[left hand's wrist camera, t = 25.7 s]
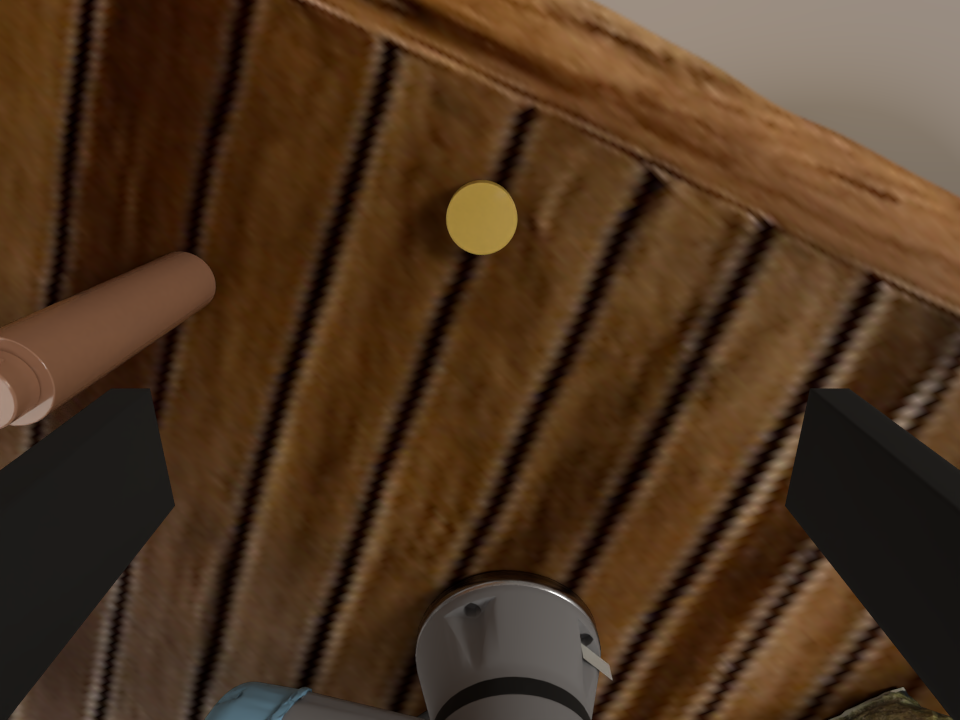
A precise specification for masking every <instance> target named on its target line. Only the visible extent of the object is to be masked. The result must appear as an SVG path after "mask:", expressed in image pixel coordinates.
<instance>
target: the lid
mask: <svg viewBox="0 0 960 720" xmlns="http://www.w3.org/2000/svg"><path fill="white" fill-rule="evenodd" d="M446 224H447V229H448V232H449V234H450V236H451V238H452V239H453V241H454V242H455V243H456V244H457V245H458V246H459V247H460V248H462V249H463V250H465V251H467V252H469V253H472V254H477V255H486V254H491V253H494V252H496V251H498V250H500V249H502V248H503V247H504V246H505V245H507V244H508V242H509V241H510V240H511V238H512V237H513V235H514V233H515V230H516V226H517V211H516V207H515V204H514V202H513V200H512V198H511V196H510V195H509V193H508V192H507V191H506V190H505V189H504V188H503V187H502V186H500V185H499V184H497V183H495V182H492V181H487V180H476V181H472V182H469V183H467V184H465V185H463V186H462V187H460V188H459V189H458V190H457V191H456V192H455V194H454V195H453V197H452V198H451V200H450V203H449V206H448V209H447V214H446Z"/></svg>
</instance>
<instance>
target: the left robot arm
mask: <svg viewBox="0 0 960 720" xmlns="http://www.w3.org/2000/svg"><path fill="white" fill-rule="evenodd" d="M174 506H175V504H174V499H173V495H172V490H171V485H170V481H169V476H168V471H167V467H166V462H165V457H164V453H163V448H162V443H161V439H160V434H159V429H158V425H157V420H156V415H155V411H154V406H153V401H152V397H151V392H150V389H110V390H109V391H107V392H106V393H105V394H103V395H102V396H101V397H99V398H98V399H97V400H95V401H94V402H92V403H91V404H90V405H88V406H87V407H86V408H84V409H83V410H82V411H80V412H79V413H77V414H76V415H75V416H73V417H72V418H71V419H69V420H68V421H67V422H65V423H64V424H63V425H61V426H60V427H58V428H57V429H56V430H54V431H53V432H52V433H50V434H49V435H48V436H46V437H45V438H44V439H42V440H41V441H39V442H38V443H37V444H35V445H34V446H33V447H31V448H30V449H29V450H27V451H26V452H25V453H23V454H22V455H20V456H19V457H18V458H16V459H15V460H14V461H12V462H11V463H10V464H8V465H7V466H6V467H4V468H3V469H1V470H0V720H7V719H8V718H9V716H10V715H11V714H12V713H13V711H14V710H15V709H16V708H17V706H18V705H19V704H20V702H21V701H22V700H23V699H24V697H25V696H26V695H27V694H28V692H29V691H30V690H31V688H32V687H33V686H34V685H35V683H36V682H37V681H38V680H39V678H40V677H41V676H42V674H43V673H44V672H45V671H46V669H47V668H48V667H49V665H50V664H51V663H52V662H53V660H54V659H55V658H56V657H57V655H58V654H59V653H60V651H61V650H62V649H63V648H64V646H65V645H66V644H67V643H68V641H69V640H70V639H71V637H72V636H73V635H74V634H75V632H76V631H77V630H78V629H79V627H80V626H81V625H82V623H83V622H84V621H85V620H86V618H87V617H88V616H89V615H90V613H91V612H92V611H93V609H94V608H95V607H96V606H97V604H98V603H99V602H100V601H101V599H102V598H103V597H104V595H105V594H106V593H107V592H108V590H109V589H110V588H111V586H112V585H113V584H114V583H115V581H116V580H117V579H118V578H119V576H120V575H121V574H122V572H123V571H124V570H125V569H126V567H127V566H128V565H129V564H130V562H131V561H132V560H133V558H134V557H135V556H136V555H137V553H138V552H139V551H140V550H141V548H142V547H143V546H144V544H145V543H146V542H147V541H148V539H149V538H150V537H151V536H152V534H153V533H154V532H155V530H156V529H157V528H158V527H159V525H160V524H161V523H162V522H163V520H164V519H165V518H166V516H167V515H168V514H169V513H170V511H171V510H172V509H173V507H174ZM785 506H786V507H787V509H788V510H789V511H790V513H791V514H792V515H793V516H794V518H795V519H796V520H797V522H798V523H799V524H800V525H801V527H802V528H803V529H804V530H805V532H806V533H807V534H808V536H809V537H810V538H811V539H812V541H813V542H814V543H815V544H816V546H817V547H818V548H819V550H820V551H821V552H822V553H823V555H824V556H825V557H826V558H827V560H828V561H829V562H830V564H831V565H832V566H833V567H834V569H835V570H836V571H837V572H838V574H839V575H840V576H841V578H842V579H843V580H844V581H845V583H846V584H847V585H848V586H849V588H850V589H851V590H852V592H853V593H854V594H855V595H856V597H857V598H858V599H859V601H860V602H861V603H862V604H863V606H864V607H865V608H866V609H867V611H868V612H869V613H870V615H871V616H872V617H873V618H874V620H875V621H876V622H877V623H878V625H879V626H880V627H881V629H882V630H883V631H884V632H885V634H886V635H887V636H888V637H889V639H890V640H891V641H892V643H893V644H894V645H895V646H896V648H897V649H898V650H899V651H900V653H901V654H902V655H903V657H904V658H905V659H906V660H907V662H908V663H909V664H910V665H911V667H912V668H913V669H914V671H915V672H916V673H917V674H918V676H919V677H920V678H921V680H922V681H923V682H924V683H925V685H926V686H927V687H928V688H929V690H930V691H931V692H932V694H933V695H934V696H935V697H936V699H937V700H938V701H939V702H940V704H941V705H942V706H943V708H944V709H945V710H946V711H947V713H948V714H949V715H950V716H951V718H952V719H953V720H960V470H959V469H957V468H956V467H954V466H953V465H952V464H950V463H949V462H948V461H946V460H945V459H944V458H942V457H941V456H940V455H938V454H937V453H935V452H934V451H933V450H931V449H930V448H929V447H927V446H926V445H925V444H923V443H922V442H921V441H919V440H918V439H916V438H915V437H914V436H912V435H911V434H910V433H908V432H907V431H906V430H904V429H903V428H902V427H900V426H899V425H897V424H896V423H895V422H893V421H892V420H891V419H889V418H888V417H887V416H885V415H884V414H883V413H881V412H880V411H878V410H877V409H876V408H874V407H873V406H872V405H870V404H869V403H868V402H866V401H865V400H863V399H862V398H861V397H859V396H858V395H857V394H855V393H854V392H853V391H851V390H850V389H810V392H809V397H808V401H807V406H806V411H805V415H804V420H803V425H802V429H801V434H800V439H799V443H798V448H797V453H796V457H795V462H794V467H793V471H792V476H791V481H790V485H789V490H788V495H787V499H786V504H785ZM416 665H417V672H418V676H419V680H420V684H421V687H422V691H423V695H424V698H425V702H426V706H427V709H428V710H427V711H425V712H424V713H422V714H421V715H419V716H418V717H414V716H410V715H405V714H401V713H397V712H393V711H389V710H384V709H380V708H376V707H372V706H368V705H363V704H359V703H355V702H351V701H347V700H342V699H338V698H334V697H330V696H326V695H321V694H317V693H313V692H312V689H310V688H308V687H302V688H300V689H295V688H290V687H284V686H278V685H272V684H267V683H261V682H247V683H244V684H241V685H239V686H237V687H235V688H233V689H231V690H230V691H229V692H227V693H226V694H225V695H224V696H223V697H222V698H221V699H220V700H219V701H218V703H217V704H216V705H215V706H214V707H213V709H212V710H211V711H210V713H209V714H208V715H207V717H206V718H205V720H429V719H430V720H591V719H592V713H593V707H594V701H595V694H596V688H597V682H598V676H599V670H600V671H601V672H602V673H604V674H605V675H606V676H607V677H609V678H610V679H611V680H612V676H611V672H610V667H609V664H608V663H606V662H605V661H604V660H602V659H601V647H600V641H599V637H598V632H597V628H596V624H595V621H594V618H593V616H592V614H591V612H590V610H589V609H588V607H587V606H586V605H585V603H584V602H583V601H582V600H581V599H580V598H579V597H578V596H577V595H576V594H575V593H574V592H573V591H571V590H570V589H569V588H567V587H565V586H564V585H562V584H560V583H558V582H557V581H554V580H552V579H550V578H547V577H544V576H541V575H537V574H533V573H527V572H520V571H498V572H490V573H485V574H481V575H477V576H474V577H471V578H468V579H465V580H463V581H461V582H459V583H457V584H455V585H453V586H452V587H450V588H449V589H447V590H446V591H444V592H443V593H442V594H441V595H439V596H438V597H437V598H436V599H435V600H434V601H433V602H432V604H431V605H430V606H429V608H428V609H427V611H426V612H425V614H424V616H423V618H422V620H421V623H420V626H419V630H418V636H417V644H416Z"/></svg>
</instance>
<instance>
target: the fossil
mask: <svg viewBox="0 0 960 720" xmlns="http://www.w3.org/2000/svg"><path fill="white" fill-rule="evenodd" d="M830 720H953V719H952V718H951V717H950V716H947V715H943V714H940V713H937V712H935V711H932V710H929V709H926V708H923V707H921V706H920V705H919V704H918V703H917V701H915V700H914V699H913V698H912V697H910V696H909V695H908V694H907V692H906V691H905V689H904V688H903V687H902V688H899V689H895V690H891V691H888V692H885V693H883V694H881V695H879V696H878V697H875V698H872V699H870V700H868V701H866V702H864V703H862V704H860V705H858V706H856V707H853V708H851V709H848V710H846V711H845V712H844V713H843V714H842V715H840V716H837V717H835V718H832V719H830Z"/></svg>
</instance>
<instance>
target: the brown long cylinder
mask: <svg viewBox="0 0 960 720" xmlns="http://www.w3.org/2000/svg"><path fill="white" fill-rule="evenodd" d="M215 289H216V284H215V278H214V275H213V273H212V271H211V269H210V268H209V266H208V265H207V264H206V263H205V262H204V261H203V260H202V259H200V258H199V257H197V256H195V255H193V254H191V253H187V252H172V253H169V254H167V255H164V256H162V257H160V258H158V259H155V260H153V261H151V262H149V263H146V264H144V265H142V266H139V267H137V268H135V269H133V270H130V271H128V272H126V273H123V274H121V275H119V276H117V277H114V278H112V279H110V280H108V281H105V282H103V283H101V284H98V285H96V286H94V287H92V288H89V289H87V290H85V291H82V292H80V293H78V294H76V295H73V296H71V297H69V298H67V299H64V300H62V301H60V302H57V303H55V304H53V305H51V306H48V307H46V308H44V309H41V310H39V311H37V312H35V313H32V314H30V315H28V316H26V317H23V318H21V319H19V320H16V321H14V322H12V323H10V324H7V325H5V326H3V327H0V429H2V428H5V427H7V426H8V425H12V426H23V425H29V424H33V423H36V422H38V421H40V420H41V419H43V418H44V417H46V416H47V415H49V414H50V413H52V412H53V411H55V410H56V409H58V408H59V407H60V406H62V405H63V404H65V403H66V402H68V401H69V400H71V399H72V398H73V397H75V396H76V395H78V394H79V393H81V392H82V391H84V390H85V389H86V388H88V387H89V386H91V385H92V384H94V383H95V382H97V381H98V380H100V379H101V378H102V377H104V376H105V375H107V374H108V373H110V372H111V371H113V370H114V369H115V368H117V367H118V366H120V365H121V364H123V363H124V362H126V361H127V360H129V359H130V358H131V357H133V356H134V355H136V354H137V353H139V352H140V351H142V350H143V349H144V348H146V347H147V346H149V345H150V344H152V343H153V342H155V341H156V340H158V339H159V338H160V337H162V336H163V335H165V334H166V333H168V332H169V331H171V330H172V329H173V328H175V327H176V326H178V325H179V324H181V323H182V322H184V321H185V320H186V319H188V318H189V317H191V316H192V315H194V314H195V313H197V312H198V311H200V310H201V309H202V308H204V307H205V306H207V305H208V304H209V303H210V302H211V300H212V299H213V297H214V294H215Z"/></svg>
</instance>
